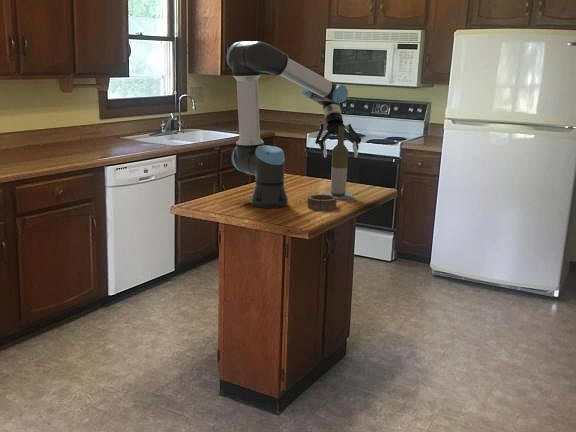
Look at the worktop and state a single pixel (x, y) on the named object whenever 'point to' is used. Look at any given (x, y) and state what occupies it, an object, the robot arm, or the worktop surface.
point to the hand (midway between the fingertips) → (341, 155)
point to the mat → (344, 197)
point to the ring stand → (322, 202)
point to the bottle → (339, 165)
